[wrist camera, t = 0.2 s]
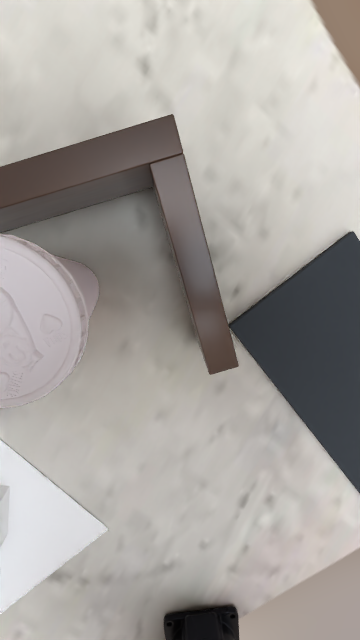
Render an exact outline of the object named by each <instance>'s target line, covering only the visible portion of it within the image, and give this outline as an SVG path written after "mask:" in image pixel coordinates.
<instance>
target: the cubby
mask: <svg viewBox="0 0 360 640" xmlns="http://www.w3.org/2000/svg"><path fill="white" fill-rule="evenodd" d="M151 187H153V188H154V192H155V195H156V199H157V202H158V206H159V209H160V213H161V216H162V220H163V223H164V226H165V230H166V233H167V237H168V240H169V244H170V247H171V251H172V254H173V258H174V261H175V264H176V268H177V271H178V275H179V278H180V282H181V285H182V289H183V292H184V296H185V299H186V303H187V306H188V309H189V313H190V316H191V320H192V323H193V327H194V330H195V334H196V337H197V341H198V344H199V347H200V349H201V352H202V355H203V358H204V361H205V364H206V366H207V369H208V372H209V374H210V375H211V374H215V373H218V372H221V371H225V370H228V369H232V368H235V367H238V366H239V365H238V361H237V357H236V353H235V350H234V346H233V342H232V338H231V334H230V330H229V326H228V323H227V319H226V315H225V311H224V307H223V303H222V299H221V296H220V292H219V288H218V284H217V280H216V276H215V272H214V269H213V265H212V261H211V257H210V253H209V249H208V246H207V242H206V238H205V234H204V230H203V226H202V222H201V219H200V215H199V211H198V207H197V203H196V199H195V195H194V192H193V188H192V184H191V180H190V176H189V172H188V168H187V165H186V161H185V157H184V154H183V149H182V145H181V142H180V138H179V134H178V130H177V126H176V122H175V118H174V115H173V114H171V115H168V116H165V117H161V118H158V119H155V120H152V121H148V122H145V123H142V124H139V125H135V126H132V127H129V128H126V129H122V130H119V131H116V132H112V133H109V134H106V135H103V136H99V137H96V138H93V139H90V140H86V141H83V142H80V143H77V144H73V145H70V146H67V147H64V148H60V149H57V150H54V151H51V152H47V153H44V154H41V155H38V156H34V157H31V158H28V159H24V160H21V161H18V162H15V163H11V164H8V165H5V166H2V167H0V233H2V232H5V231H9V230H12V229H15V228H18V227H22V226H25V225H28V224H32V223H35V222H38V221H42V220H45V219H48V218H51V217H55V216H58V215H61V214H65V213H68V212H71V211H75V210H78V209H81V208H85V207H88V206H91V205H94V204H98V203H101V202H104V201H108V200H111V199H114V198H118V197H121V196H124V195H127V194H131V193H134V192H137V191H141V190H144V189H147V188H151Z"/></svg>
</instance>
